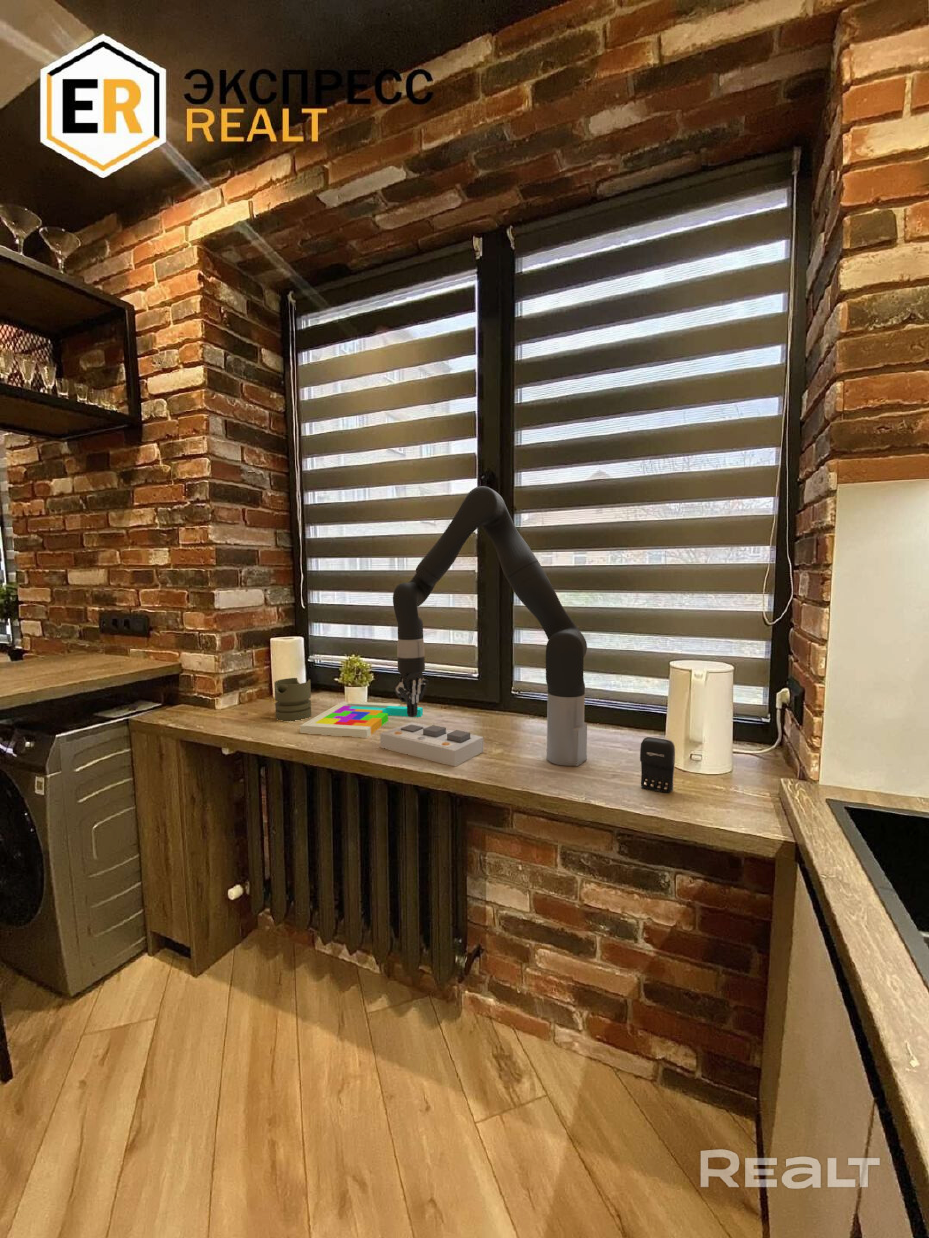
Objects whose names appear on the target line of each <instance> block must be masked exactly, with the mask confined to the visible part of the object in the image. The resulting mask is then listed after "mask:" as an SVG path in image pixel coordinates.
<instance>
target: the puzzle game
mask: <svg viewBox="0 0 929 1238" xmlns="http://www.w3.org/2000/svg"><path fill="white" fill-rule="evenodd" d="M346 701H347V700H342V701H340V702H339V703H338V704H336V705H334V706H332V707H331V708H329V709H327V710H325V711H323V712H321V713H319V714H318V715H316V716H314V717H313V718H310V719H309V720H308V721H306V722H304V723H302V724H300V725H299V730H300V731H299V734H300V733H308V734H307V735H311V734H321V735H320V736H327V735H331V736H330V737H342V736H352V737H351V738H358V737H361V739H368V738H369V737H370V736H371V735H373V734H374V733H376V731H377V730H379V729H380V728H381V727H383V726H384V725H385V724H386V723H388V722H389V715H390V717H394V716H395V717H409V716H408V714H407V706H402V705H401V704H400V703H390V702H389V703H388V702H387V703H386V702H385V703H384V702H370V701H369V702H367V701H359V702H360V703H347V702H346ZM417 711H418V712H417V716H415V717H414V718H421V717H422V716H423V715H424V714H423V713H424V712H423V711H424V709H423V707H421V706H417ZM409 718H410V717H409ZM383 724H384V725H383ZM368 736H369V737H368ZM367 737H368V738H367Z"/></svg>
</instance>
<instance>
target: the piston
mask: <svg viewBox="0 0 929 1238" xmlns="http://www.w3.org/2000/svg"><path fill="white" fill-rule="evenodd" d="M273 684H274V685H273V686H274V700H275V701H276V702H275V703H274V706H275V707H274V708H275V713H274V714H275V720H276V719H278V720H283V721H293V722H296V721H295V720H300V721H302V720H301V719H305V718H308V719H310V718H311V717H312V700H311V697H312V691H311V689H312V688H311V686H312V685H311V679H308V680H307V681H305V682H302V683H300V682H299V680H298V678H297V677H290V678H289V677H288V678H282V679H279V680H275V681H274V683H273ZM309 717H310V718H309ZM278 720H277V721H278ZM305 720H306V719H305ZM283 721H282V722H283Z"/></svg>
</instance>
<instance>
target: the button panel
mask: <svg viewBox="0 0 929 1238" xmlns="http://www.w3.org/2000/svg"><path fill="white" fill-rule="evenodd" d="M408 725H416V726H420V727H423V729H424V728H427V727H430V726H431V725H427V724H423V723H418V722H413V721H411V722H407V723H404V724H403V725H400V726H397V727H393V728H390V729H389V730H386V731H383V732H381V733H379V734H380V735H379V737H380V739H379V740H380V743H379V744H380V748H381V749H384V748H385V749H384V750H389V751H392V752H397V753H400V754H405V755H407V754H408V755H409V756H412V757H415V758H419V759H423V760H428V761H432V762H435V763H439V764H444V765H447V766H451V767H457V766H459V765H461V764H463V763H465V762H466V761H469V760H470V759H472V758H474V757H476V756H478V755H479V754H482V753H484V736H481V735H475V734H471V733H470V739H469V740H467V741H465V742H463V743H458V742H453V741H449V740H447V734H448V733H451V732H453V731H454V730H452V729H447V728H446V734H444V735H442V736H439V737H437V738H435V737H431V736H426V735H423V729H421V730H419V731H416V732H408V731H403V730H401V728H403V727H406V726H408Z"/></svg>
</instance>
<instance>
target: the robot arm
mask: <svg viewBox="0 0 929 1238" xmlns="http://www.w3.org/2000/svg"><path fill="white" fill-rule="evenodd" d="M511 516H512V515H511V514H510V513H509V510H508V507H507V506H506V503H505V500H504V499H503V497H502V496H501V495H500V494H499V493H498V492H497V491H496V490H494V489H493V488H490V487H488V486H486V485H481V486H477V487H474V488H472V489H471V490H470V491H469V492H468V493H467V495H466V496H465V498H464V500H463V501H462V503H461V504H460V506H459V508H458V510H457V512H456V514H455V515H454V517H453V518H452V520H451V521H450V523H449V524H448V526H446V529H445V530H444V532H443V533H442V535H441V536H440V538H438V540H437V541H436V543H435V544H434V545H433V546H432V548H431V549H430V550H429V551H428V552H427V553H426V555H424V557H423V558H422V560H420V561H419V564H417V566H416V568H415V575H414V576H413V577H412V578H411V580H410V581H409V582H402V583H399V584H398V585H396V587H395V588H394V590H393V594H392V605H393V610H394V615H395V618H396V623H397V646H396V647H397V648H396V649H397V651H396V652H397V657H396V658H397V672H398V673H399V675H400V676H399V680H398V681H399V683H398V685H397V686H393V691H394V692H395V694H396V696H397V697H398V699H399V700H400V701H401V703H405V704H406V707H407V714H408V716H409V718H416V717H415V716H417V712H418V711H417V707H418V703H419V701H420V700H423V698H424V695H425V694H426V691H427V689H428V686H429V683H430V680H428V679H425V678H424V674H423V673H424V672H425V670H426V661H425V660H426V659H425V658H426V657H425V649H426V648H425V642H424V623H423V619H422V618H420V617H419V611H418V607H420V606H421V605H423V604H424V603H425V601H427V599H428V598H429V597H430V595H431V593H432V591H433V590H434V589H435V587H436V585H437V584H438V582H440V580H441V579H443V578H442V577H443V576H445V574H446V573H447V572H448V571H449V569H450V568H451V567H452V565H453V564H454V562H455V560H456V559H457V557H458V555H459V554H460V552H461V550H462V548H463V546H464V545H465V544H466V542H467V540H468V539H469V538H470V537H471V535H472V534H473V533H474V532H475V531H476V530H477V529H479V528H480V527H481V528H482V529H483V530H484V531H485V533H486V534H487V537H488V538H489V540H491V542H492V544H493V546H494V549H495V551H496V555H497V557H498V560H499V563H500V567H501V569H502V572H503V575H504V577H505V578H506V580H507V582H508V583H509V585H510V587H511V589H512V590H513V592H514V594H515V595H516V597H517V598H518V599H519V601H520V602H521V603H522V604H523V605H524V607H525V608H527V610H529V612H531V614H532V615H533V616H534V618H536V620H537V621H538V623H539V624H540V625H541V628H542V629H543V631H544V634H545V635H546V638H547V642H546V645H545V647H546V648H545V682H546V685H547V687H546V688H547V710H546V712H547V714H546V715H547V716H546V717H547V718H546V723H547V724H546V760H547V761H548V762H550V763H552V764H555V765H558V766H568V767H569V766H570V767H571V766H573V767H579V766H580V765H582V763H584V762H585V761H586V760H587V758H588V757H587V752H588V751H587V749H588V744H587V743H588V723H587V722H585V705H586V704H585V702H586V700H585V699H586V697H585V696H586V694H585V693H586V683H585V681H584V658H585V656H586V654H587V651H588V643H587V641H586V637H585V636H584V634H583V633H582V632H581V630H580V629H579V628H578V627H577V625H576V624H575V622H574V621H573V620H572V619H571V617H570V616H569V614H568V613H567V612H566V609H565V608H564V607H563V605H562V603H561V601H560V599H559V597H558V595H557V593H556V590H555V589H554V587H553V585H552V583H551V581H550V579H549V578H548V575H547V574H546V572H545V570H544V568H543V567H542V565H541V563H540V561H539V560H538V558H537V557H536V556H535V554H534V552H533V551H532V549H531V547H530V546H529V544H528V543H527V542H526V540H525V539H524V538H523V537H522V535H521V534H520V532H519V531H518V529H517V527H516V526H515V523H514V521H513V518H512V517H511Z"/></svg>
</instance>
